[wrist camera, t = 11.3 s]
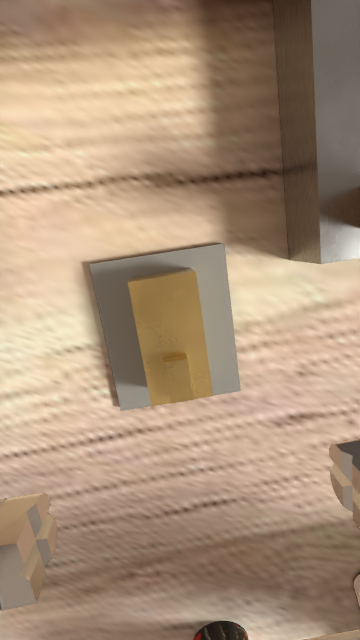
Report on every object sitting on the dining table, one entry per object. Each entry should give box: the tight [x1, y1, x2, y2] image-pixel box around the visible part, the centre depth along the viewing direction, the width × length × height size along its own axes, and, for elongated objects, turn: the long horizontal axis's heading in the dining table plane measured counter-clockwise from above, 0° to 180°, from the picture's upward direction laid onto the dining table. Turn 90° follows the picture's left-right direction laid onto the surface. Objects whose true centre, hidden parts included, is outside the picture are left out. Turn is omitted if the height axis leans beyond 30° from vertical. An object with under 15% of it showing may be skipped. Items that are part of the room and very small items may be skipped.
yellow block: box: [128, 268, 213, 406], centre depth 23 cm, size 9×4×4 cm, turn 9°
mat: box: [89, 244, 240, 411], centre depth 25 cm, size 12×10×1 cm
